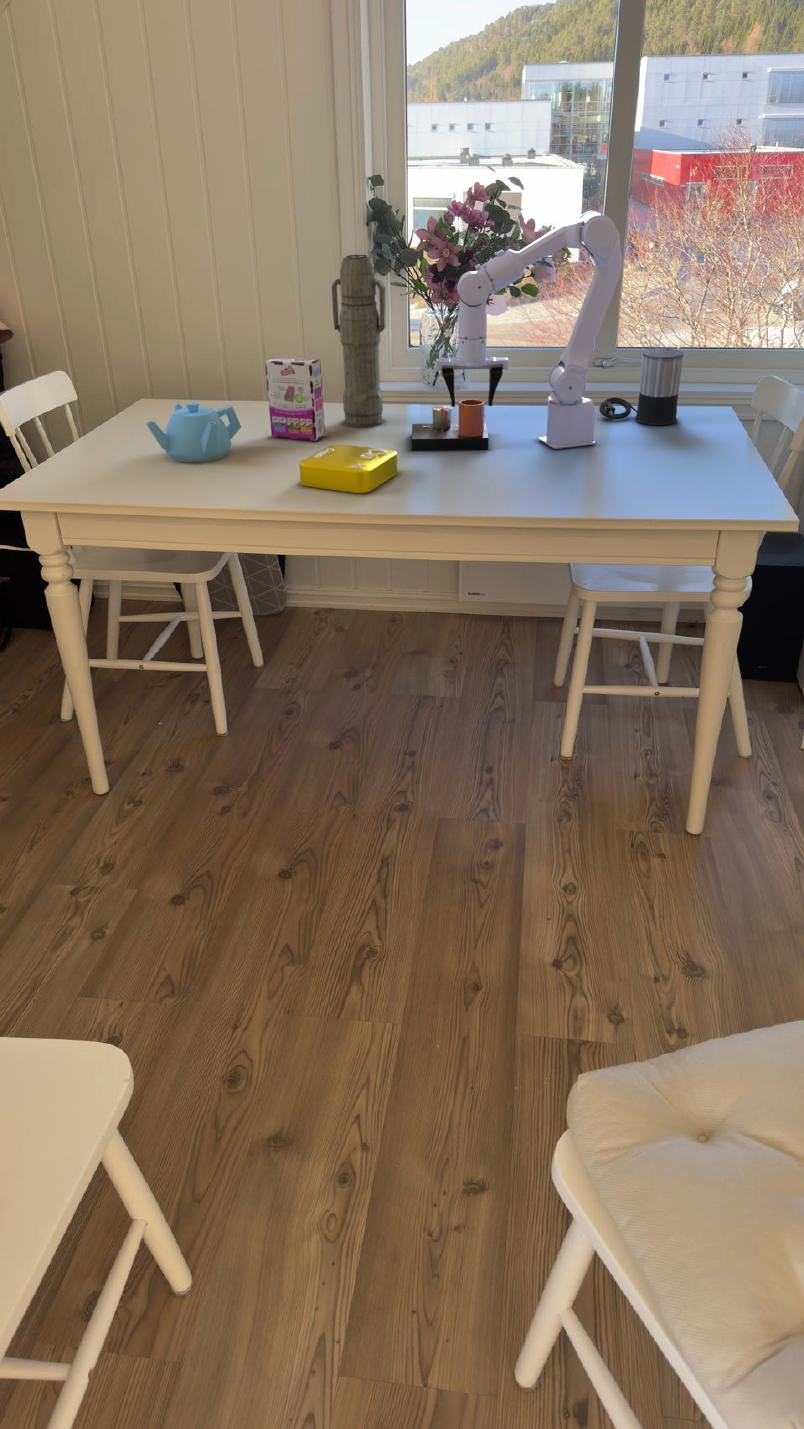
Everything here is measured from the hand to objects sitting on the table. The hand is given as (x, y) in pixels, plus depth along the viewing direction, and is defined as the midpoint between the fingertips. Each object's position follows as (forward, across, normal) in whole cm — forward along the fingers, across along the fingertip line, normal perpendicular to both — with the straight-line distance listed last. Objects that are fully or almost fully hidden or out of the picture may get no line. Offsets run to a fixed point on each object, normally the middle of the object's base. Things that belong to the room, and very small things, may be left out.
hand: (471, 405), depth 213 cm
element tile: (+8, -24, -22) cm, 34 cm away
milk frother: (+9, +38, +19) cm, 44 cm away
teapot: (+8, -58, -4) cm, 58 cm away
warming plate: (+8, -5, +2) cm, 10 cm away
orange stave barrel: (+6, 0, 0) cm, 6 cm away
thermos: (+8, -24, +20) cm, 32 cm away
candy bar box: (+8, -38, +8) cm, 40 cm away
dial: (+6, -6, +5) cm, 10 cm away
